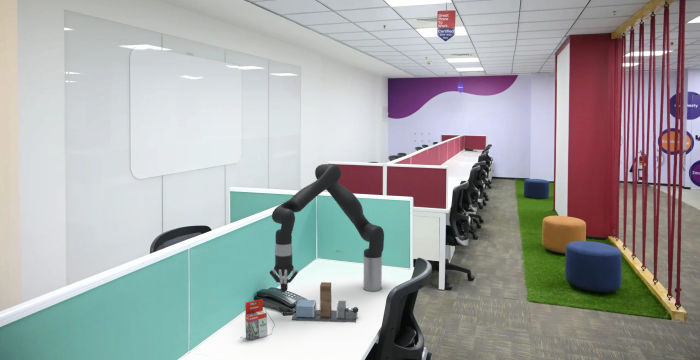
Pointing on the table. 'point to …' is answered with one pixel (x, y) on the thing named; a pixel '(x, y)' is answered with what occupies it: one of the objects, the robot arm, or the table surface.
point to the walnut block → (325, 299)
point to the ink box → (255, 320)
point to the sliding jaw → (306, 308)
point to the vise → (333, 314)
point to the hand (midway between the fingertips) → (284, 291)
